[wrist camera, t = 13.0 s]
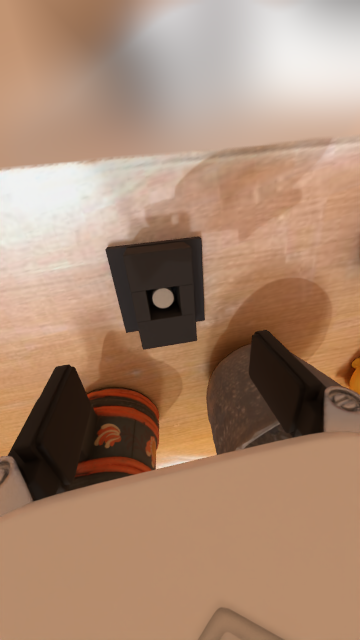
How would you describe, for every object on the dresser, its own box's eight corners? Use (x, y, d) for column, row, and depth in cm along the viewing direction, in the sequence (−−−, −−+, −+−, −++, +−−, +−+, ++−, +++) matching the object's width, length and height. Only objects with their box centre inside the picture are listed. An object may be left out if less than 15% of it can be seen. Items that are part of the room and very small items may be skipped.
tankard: (24, 384, 28) (-168, 664, 11) (127, 349, 28) (100, 572, 11) (92, 456, 37) (47, 672, 20) (169, 430, 37) (193, 622, 20)
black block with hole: (126, 248, 21) (122, 255, 18) (183, 241, 22) (191, 247, 18) (142, 331, 26) (142, 349, 23) (190, 323, 27) (197, 340, 23)
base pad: (107, 247, 22) (100, 254, 18) (198, 236, 23) (209, 241, 19) (126, 328, 27) (124, 346, 23) (202, 316, 28) (211, 332, 24)
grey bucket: (165, 356, 30) (182, 469, 17) (277, 293, 28) (395, 365, 15) (215, 420, 38) (253, 529, 25) (304, 374, 36) (396, 467, 23)
